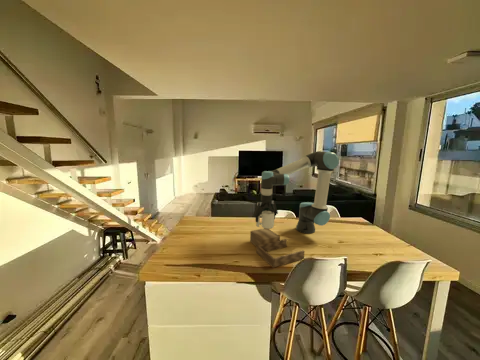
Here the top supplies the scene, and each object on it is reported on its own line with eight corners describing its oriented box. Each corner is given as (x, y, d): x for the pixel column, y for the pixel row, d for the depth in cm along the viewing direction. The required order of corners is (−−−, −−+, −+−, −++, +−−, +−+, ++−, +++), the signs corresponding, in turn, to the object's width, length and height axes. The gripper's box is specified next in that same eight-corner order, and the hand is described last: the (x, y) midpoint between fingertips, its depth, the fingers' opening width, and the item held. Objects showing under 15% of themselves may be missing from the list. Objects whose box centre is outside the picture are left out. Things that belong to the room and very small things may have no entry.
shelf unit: (272, 236, 164) (272, 226, 163) (304, 258, 134) (304, 246, 132) (245, 242, 154) (245, 231, 153) (272, 267, 124) (273, 254, 122)
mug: (257, 229, 145) (257, 214, 143) (255, 224, 153) (255, 210, 151) (274, 229, 146) (275, 214, 144) (271, 224, 154) (272, 210, 152)
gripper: (277, 191, 154) (276, 220, 158) (248, 194, 144) (247, 225, 147) (284, 194, 147) (282, 224, 151) (254, 197, 137) (252, 229, 141)
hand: (265, 225), depth 149 cm, fingers closed on mug, 11 cm apart
